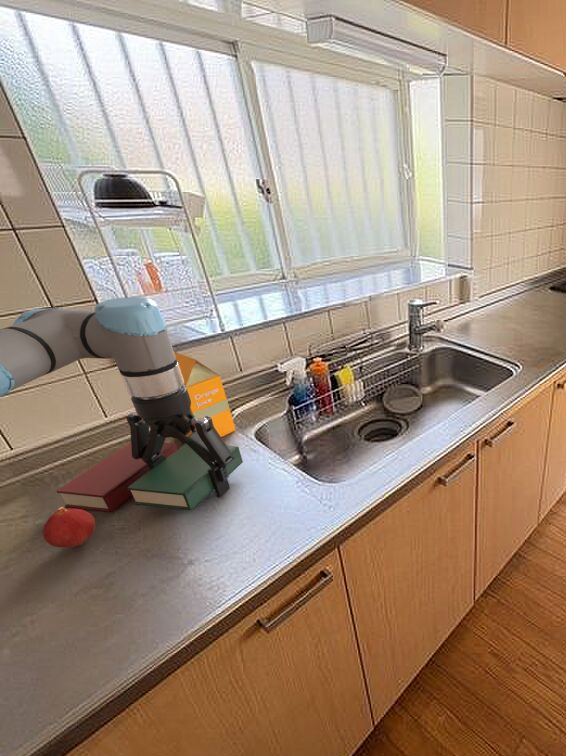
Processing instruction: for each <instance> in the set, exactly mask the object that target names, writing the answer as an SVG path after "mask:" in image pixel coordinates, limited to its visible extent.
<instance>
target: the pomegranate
mask: <svg viewBox="0 0 566 756" xmlns="http://www.w3.org/2000/svg"><path fill="white" fill-rule="evenodd" d="M95 529H96V521H95V517H94V516H93V515H92V513H90V512H88V511H87V510H85V509H75V508H66V507H64V506H61V507H58V508H57V509H56V511H55V512H54V513H53V514H51V515H50V516H49V518H48V519H47V520H46V522H45V524H44V525H43V527H42V535H43V539H44V541H45V542H46V543H47V544H48V545H51V546H53V547H57V548H72V547H79V546H82V545H83V544H84V543H85V542H86V541H87V540H88V539H89V538H90V537H91V536H92V534H93V533H94V531H95Z"/></svg>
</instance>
